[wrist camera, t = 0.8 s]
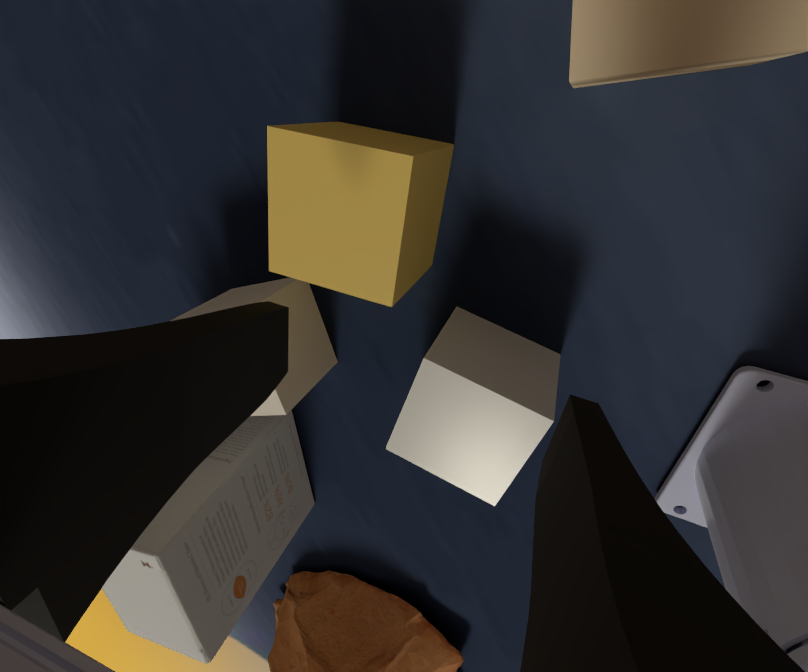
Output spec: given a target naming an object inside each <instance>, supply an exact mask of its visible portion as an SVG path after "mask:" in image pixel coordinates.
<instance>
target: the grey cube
mask: <svg viewBox="0 0 808 672" xmlns="http://www.w3.org/2000/svg"><path fill="white" fill-rule="evenodd" d="M559 364H560V354H558V353H556V352H554V351H552V350H550V349H548V348H545V347H543V346H541V345H539V344H537V343H535V342H533V341H530V340H528V339H526V338H524V337H522V336H520V335H517V334H515V333H513V332H511V331H509V330H507V329H504V328H502V327H500V326H498V325H496V324H494V323H492V322H489V321H487V320H485V319H483V318H481V317H479V316H476V315H474V314H472V313H470V312H468V311H466V310H464V309H461V308H459V307H456V308H455V310H454V311H453V313H452V314H451V316H450V318H449V319H448V321H447V322H446V324H445V325H444V327H443V329H442V330H441V332H440V333H439V335H438V336H437V338H436V340H435V341H434V343H433V344H432V346H431V347H430V349H429V351H428V352H427V354H426V355H425V357H424V359H423V361H422V363H421V366H420V368H419V370H418V373H417V375H416V378H415V380H414V382H413V385H412V387H411V389H410V392H409V394H408V397H407V399H406V401H405V404H404V406H403V408H402V411H401V413H400V415H399V418H398V420H397V423H396V425H395V427H394V430H393V432H392V434H391V437H390V439H389V442H388V444H387V446H386V449H387V450H389V451H391V452H393V453H394V454H396V455H398V456H400V457H402V458H404V459H406V460H408V461H410V462H412V463H413V464H415V465H417V466H419V467H421V468H423V469H425V470H427V471H429V472H431V473H432V474H434V475H436V476H438V477H440V478H442V479H444V480H446V481H448V482H450V483H451V484H453V485H455V486H457V487H459V488H461V489H463V490H465V491H467V492H469V493H471V494H472V495H474V496H476V497H478V498H480V499H482V500H484V501H486V502H488V503H490V504H491V505H493V506H495V505H496V504H497V502H498V501H499V499H500V498H501V497H502V495H503V494H504V492H505V491H506V489H507V488H508V486H509V485H510V484H511V482H512V481H513V479H514V478H515V476H516V475H517V474H518V472H519V471H520V469H521V468H522V466H523V465H524V463H525V462H526V461H527V459H528V458H529V456H530V455H531V453H532V452H533V451H534V449H535V448H536V446H537V445H538V443H539V442H540V440H541V439H542V438H543V436H544V435H545V433H546V432H547V430H548V429H549V427H550V426H551V425H552V423H553V422H554V414H555V404H556V394H557V384H558V374H559Z"/></svg>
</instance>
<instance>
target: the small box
mask: <svg viewBox="0 0 808 672" xmlns="http://www.w3.org/2000/svg"><path fill="white" fill-rule="evenodd" d="M313 506H314V498H313V495H312V491H311V487H310V483H309V478H308V474H307V470H306V466H305V462H304V458H303V454H302V449H301V445H300V441H299V437H298V434H297V429H296V426H295V422H294V417H293V413H292V410H291V411H290V412H289V413H288V414H287V415H269V416H250V417H249V418H247V419H246V420H245V421H244V422H243V423H242V424H241V425H240V426H239V427H238V428H237V429H236V430H235V431H234V432H233V433H232V434H231V435H230V436H229V437H228V438H227V439H225V440H224V441H223V442H222V443H221V444H220V445H219V446H218V447H217V448H216V449H215V450H214V451H213V452H212V453H211V454H210V455H209V456H208V457H207V458H206V459H205V460H204V461H203V462H202V463H201V464H200V465H199V466H198V467H197V468H196V469H195V470H194V471H193V472H192V473H191V475H190V476H189V477H188V478H187V479H186V480H185V482H184V483H183V484H182V485H181V486H180V487H179V489H178V490H177V491H176V492H175V493H174V495H173V496H172V497H171V498H170V499H169V500H168V502H167V503H166V504H165V505H164V507H163V508H162V509H161V510H160V512H159V513H158V514H157V515H156V517H155V518H154V519H153V520H152V522H151V523H150V524H149V525H148V527H147V528H146V529H145V530H144V532H143V533H142V534H141V535H140V537H139V538H138V539H137V541H136V542H135V543H134V545H133V546H132V547H131V549H130V550H129V551H128V553H127V554H126V555H125V557H124V558H123V559H122V561H121V562H120V563H119V565H118V566H117V567H116V569H115V570H114V571H113V573H112V574H111V575H110V577H109V578H108V580H107V581H106V582H105V584H104V585H103V587H102V589H103V591H104V592H105V594H106V596H107V597H108V599H109V601H110V602H111V604H112V605H113V607H114V609H115V611H116V612H117V614H118V615H119V617H120V619H121V621H122V622H123V624H124V626H125V627H126V629H127V630H128V631H130V632H132V633H134V634H135V635H138V636H140V637H143V638H145V639H147V640H150V641H152V642H155V643H157V644H160V645H162V646H164V647H167V648H169V649H172V650H174V651H176V652H179V653H181V654H184V655H186V656H188V657H191V658H193V659H196V660H198V661H200V662H203V663H209V662H211V660H212V659H213V658H214V656H215V655H216V653H217V651H218V650H219V648H220V647H221V645H222V644H223V642H224V641H225V639H226V638H227V636H228V635H229V633H230V632H231V630H232V629H233V627H234V626H235V624H236V623H237V621H238V620H239V618H240V617H241V615H242V614H243V612H244V611H245V609H246V608H247V606H248V605H249V603H250V602H251V600H252V598H253V597H254V596H255V594H256V592H257V591H258V589H259V588H260V586H261V585H262V583H263V582H264V580H265V579H266V577H267V576H268V574H269V573H270V571H271V570H272V568H273V567H274V565H275V563H276V562H277V561H278V559H279V557H280V556H281V554H282V553H283V551H284V550H285V548H286V547H287V545H288V544H289V542H290V541H291V539H292V538H293V536H294V535H295V533H296V531H297V530H298V528H299V527H300V525H301V524H302V522H303V521H304V519H305V518H306V516H307V515H308V513H309V512H310V510H311V509H312V507H313Z"/></svg>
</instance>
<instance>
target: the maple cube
mask: <svg viewBox="0 0 808 672" xmlns="http://www.w3.org/2000/svg"><path fill="white" fill-rule="evenodd" d="M807 51H808V0H573V8H572V30H571V52H570V74H569V82H570V84H571V85H572V87H573V88H578V87H586V86H593V85H601V84H609V83H616V82H624V81H632V80H639V79H647V78H655V77H662V76H670V75H677V74H685V73H693V72H700V71H708V70H716V69H723V68H731V67H739V66H746V65H753V64H757V63H761V62H765V61H769V60H774V59H778V58H782V57H786V56H790V55H794V54H799V53H803V52H807Z"/></svg>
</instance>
